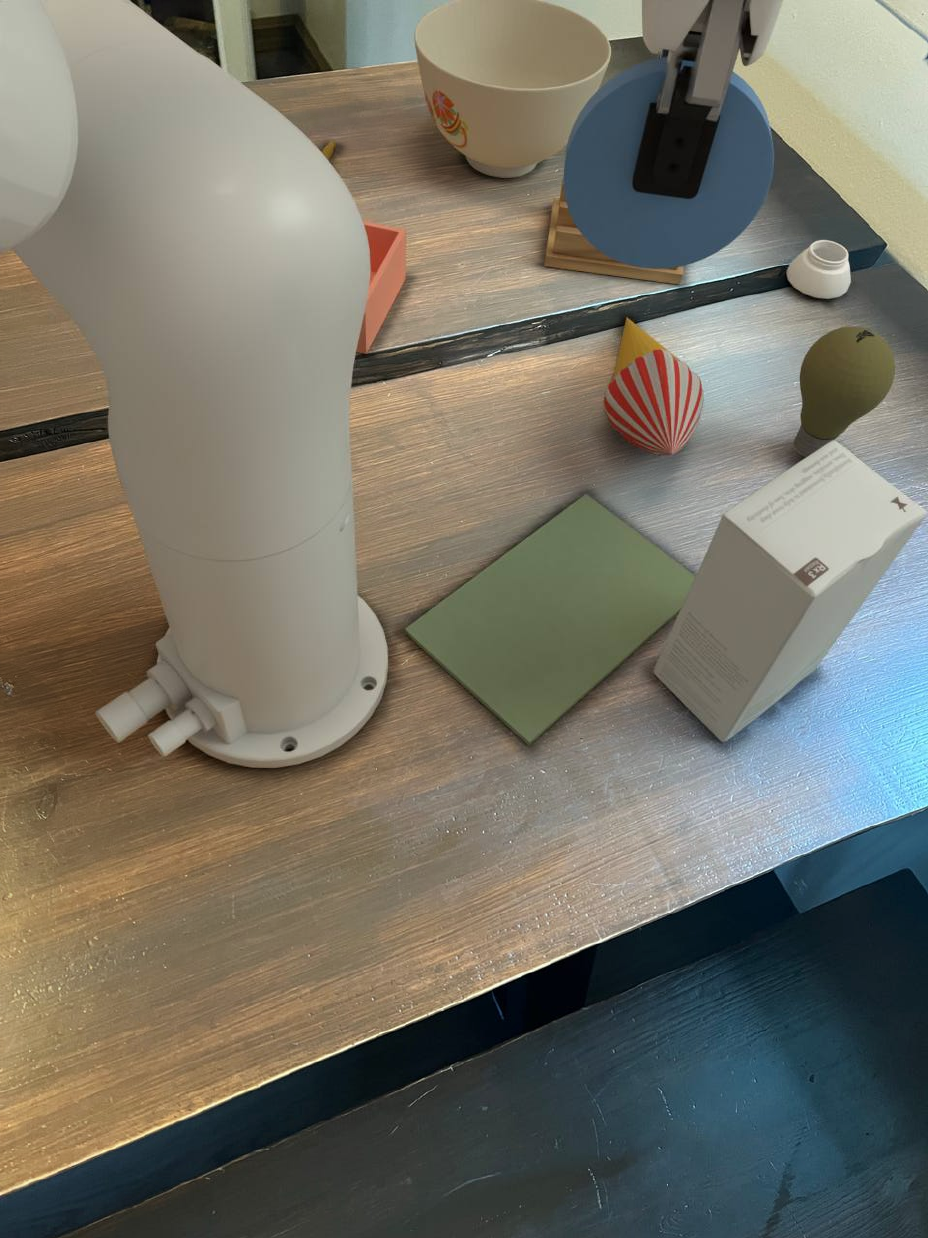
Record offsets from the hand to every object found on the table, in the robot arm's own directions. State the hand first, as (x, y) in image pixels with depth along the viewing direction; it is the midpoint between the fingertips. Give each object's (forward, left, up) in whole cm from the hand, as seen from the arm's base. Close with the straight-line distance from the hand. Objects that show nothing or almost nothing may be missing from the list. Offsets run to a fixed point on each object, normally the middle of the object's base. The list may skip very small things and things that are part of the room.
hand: (663, 178), depth 47 cm
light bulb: (+13, -9, -21) cm, 26 cm away
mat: (-10, -6, -21) cm, 24 cm away
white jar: (+30, +2, -21) cm, 37 cm away
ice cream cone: (+8, +2, -21) cm, 22 cm away
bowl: (+23, +31, -21) cm, 44 cm away
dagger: (+8, +39, -21) cm, 45 cm away
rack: (+21, +16, -21) cm, 33 cm away
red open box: (-4, +29, -21) cm, 36 cm away
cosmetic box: (-6, -16, -21) cm, 27 cm away
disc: (0, 0, 0) cm, 0 cm away
